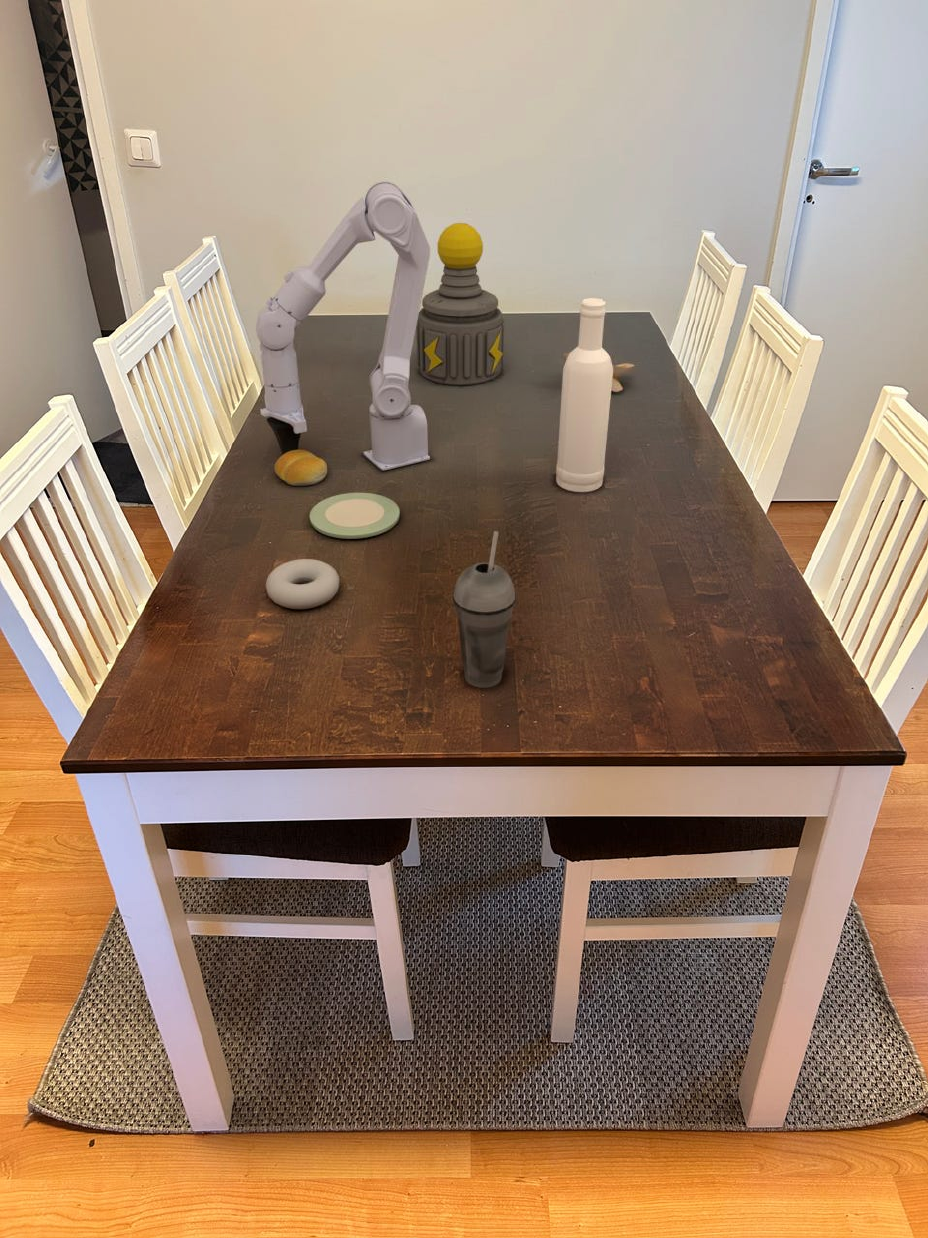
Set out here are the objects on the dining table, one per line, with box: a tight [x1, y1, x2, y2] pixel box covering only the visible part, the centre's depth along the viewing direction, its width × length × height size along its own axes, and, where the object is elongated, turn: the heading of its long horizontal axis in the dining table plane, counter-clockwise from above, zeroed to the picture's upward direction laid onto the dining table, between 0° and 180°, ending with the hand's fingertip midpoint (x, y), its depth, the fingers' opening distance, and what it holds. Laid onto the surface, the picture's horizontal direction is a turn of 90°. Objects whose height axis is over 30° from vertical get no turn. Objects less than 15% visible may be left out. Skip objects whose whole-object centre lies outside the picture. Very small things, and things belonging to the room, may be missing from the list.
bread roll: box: [273, 449, 328, 487], centre depth 157 cm, size 8×9×4 cm
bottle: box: [555, 297, 613, 493], centre depth 148 cm, size 8×8×30 cm
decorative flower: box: [560, 352, 636, 393], centre depth 190 cm, size 15×11×10 cm
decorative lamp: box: [415, 222, 505, 387], centre depth 191 cm, size 19×19×30 cm
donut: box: [265, 558, 341, 610], centre depth 127 cm, size 10×4×10 cm
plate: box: [309, 492, 401, 540], centre depth 145 cm, size 14×14×1 cm
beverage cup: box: [452, 530, 517, 689], centre depth 107 cm, size 7×7×20 cm
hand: (290, 457), depth 161 cm, fingers closed
